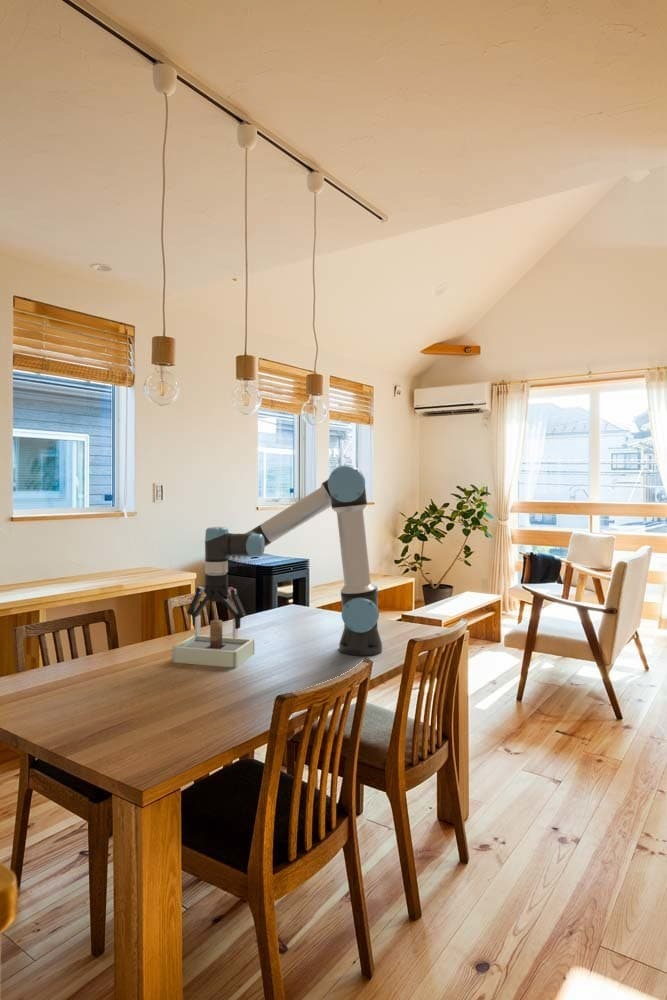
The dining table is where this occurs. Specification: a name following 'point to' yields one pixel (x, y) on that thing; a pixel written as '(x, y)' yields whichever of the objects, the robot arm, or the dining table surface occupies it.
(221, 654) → the box
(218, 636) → the peg
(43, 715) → the dining table surface
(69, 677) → the dining table surface
